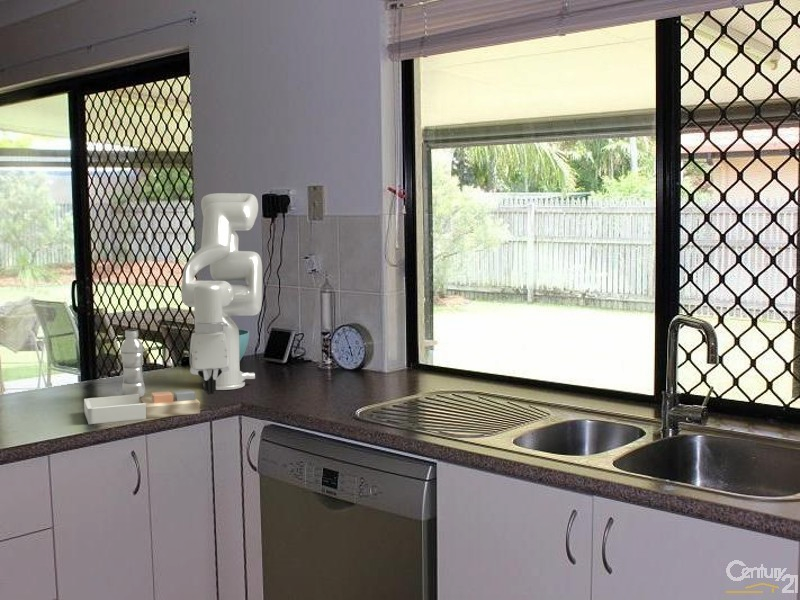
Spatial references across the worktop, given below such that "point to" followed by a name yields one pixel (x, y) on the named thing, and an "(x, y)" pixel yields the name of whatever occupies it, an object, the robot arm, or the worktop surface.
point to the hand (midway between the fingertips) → (210, 393)
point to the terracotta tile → (162, 397)
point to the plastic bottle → (132, 364)
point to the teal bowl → (243, 342)
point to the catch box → (114, 409)
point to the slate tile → (184, 395)
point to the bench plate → (170, 407)
